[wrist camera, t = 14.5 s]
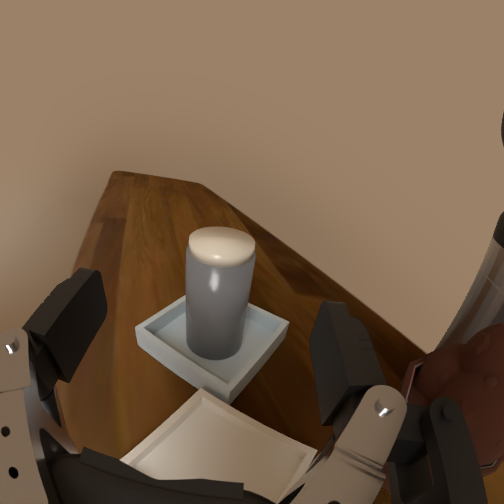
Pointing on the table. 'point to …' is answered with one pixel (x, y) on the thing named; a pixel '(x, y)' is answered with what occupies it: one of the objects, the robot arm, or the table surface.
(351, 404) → the robot arm
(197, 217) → the table surface
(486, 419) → the ice cream bowl
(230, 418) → the tray
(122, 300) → the table surface
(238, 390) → the glazed dish
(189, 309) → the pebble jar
